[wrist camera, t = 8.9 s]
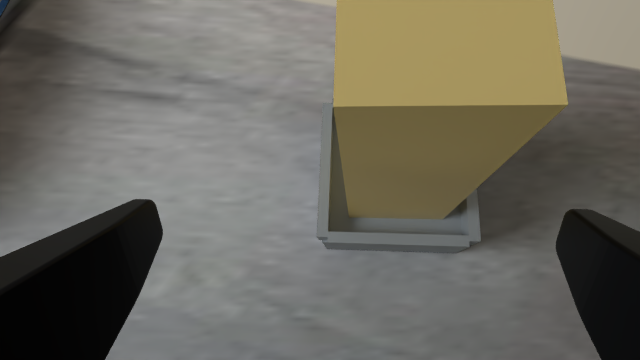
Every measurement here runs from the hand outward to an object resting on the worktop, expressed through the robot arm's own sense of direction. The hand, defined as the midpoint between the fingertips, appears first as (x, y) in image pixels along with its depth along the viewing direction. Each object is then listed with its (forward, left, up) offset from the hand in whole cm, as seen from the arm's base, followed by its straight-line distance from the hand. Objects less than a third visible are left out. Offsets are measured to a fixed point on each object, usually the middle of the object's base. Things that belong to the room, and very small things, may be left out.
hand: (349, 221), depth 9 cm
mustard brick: (0, -5, -11) cm, 12 cm away
